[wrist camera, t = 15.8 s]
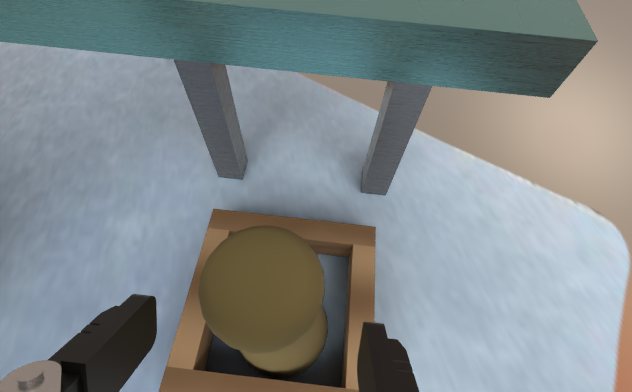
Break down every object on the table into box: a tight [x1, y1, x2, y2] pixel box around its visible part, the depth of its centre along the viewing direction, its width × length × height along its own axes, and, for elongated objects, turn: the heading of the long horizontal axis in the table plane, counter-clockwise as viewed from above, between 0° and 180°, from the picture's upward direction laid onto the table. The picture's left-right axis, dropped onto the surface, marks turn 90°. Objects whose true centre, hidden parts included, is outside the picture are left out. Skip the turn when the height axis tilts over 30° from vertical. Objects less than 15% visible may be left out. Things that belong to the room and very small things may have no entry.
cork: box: [198, 225, 328, 378], centre depth 17 cm, size 6×6×11 cm
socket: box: [159, 209, 376, 392], centre depth 22 cm, size 12×12×2 cm
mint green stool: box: [0, 0, 598, 195], centre depth 18 cm, size 10×14×20 cm
